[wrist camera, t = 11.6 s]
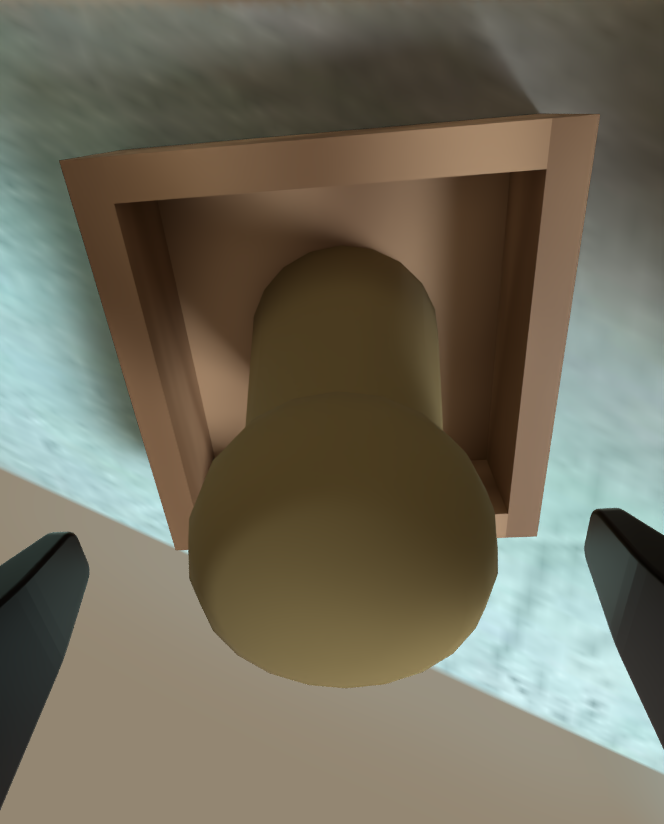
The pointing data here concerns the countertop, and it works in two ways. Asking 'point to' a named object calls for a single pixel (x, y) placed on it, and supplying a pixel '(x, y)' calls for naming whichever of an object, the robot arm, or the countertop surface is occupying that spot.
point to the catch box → (357, 227)
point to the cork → (343, 487)
